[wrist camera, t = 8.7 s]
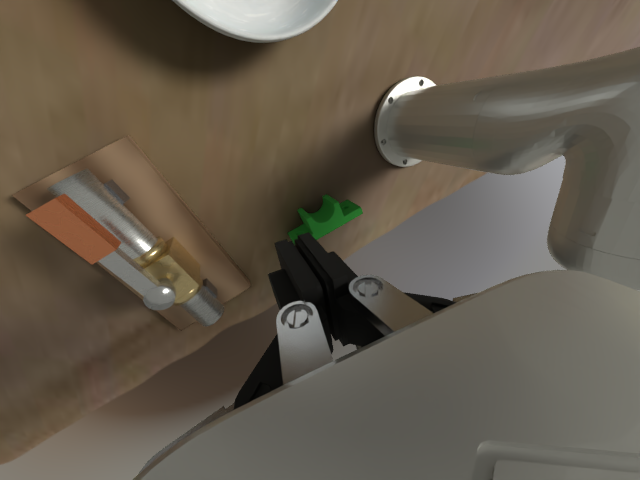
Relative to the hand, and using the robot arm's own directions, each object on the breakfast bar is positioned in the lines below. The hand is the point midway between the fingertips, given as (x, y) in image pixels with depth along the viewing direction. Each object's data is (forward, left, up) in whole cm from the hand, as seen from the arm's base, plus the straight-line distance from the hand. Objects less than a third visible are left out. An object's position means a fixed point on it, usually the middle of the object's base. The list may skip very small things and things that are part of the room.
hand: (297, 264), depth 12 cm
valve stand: (+14, +3, -25) cm, 29 cm away
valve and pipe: (+14, +3, -24) cm, 28 cm away
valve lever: (+14, 0, -18) cm, 23 cm away
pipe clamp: (-7, +11, -25) cm, 29 cm away
